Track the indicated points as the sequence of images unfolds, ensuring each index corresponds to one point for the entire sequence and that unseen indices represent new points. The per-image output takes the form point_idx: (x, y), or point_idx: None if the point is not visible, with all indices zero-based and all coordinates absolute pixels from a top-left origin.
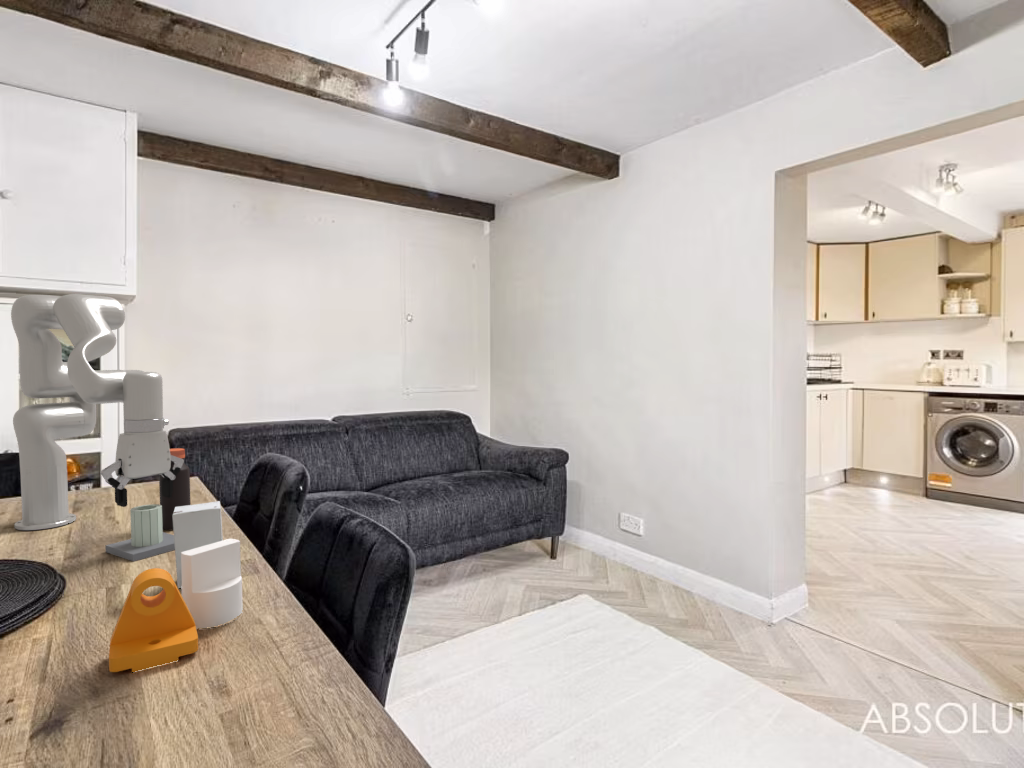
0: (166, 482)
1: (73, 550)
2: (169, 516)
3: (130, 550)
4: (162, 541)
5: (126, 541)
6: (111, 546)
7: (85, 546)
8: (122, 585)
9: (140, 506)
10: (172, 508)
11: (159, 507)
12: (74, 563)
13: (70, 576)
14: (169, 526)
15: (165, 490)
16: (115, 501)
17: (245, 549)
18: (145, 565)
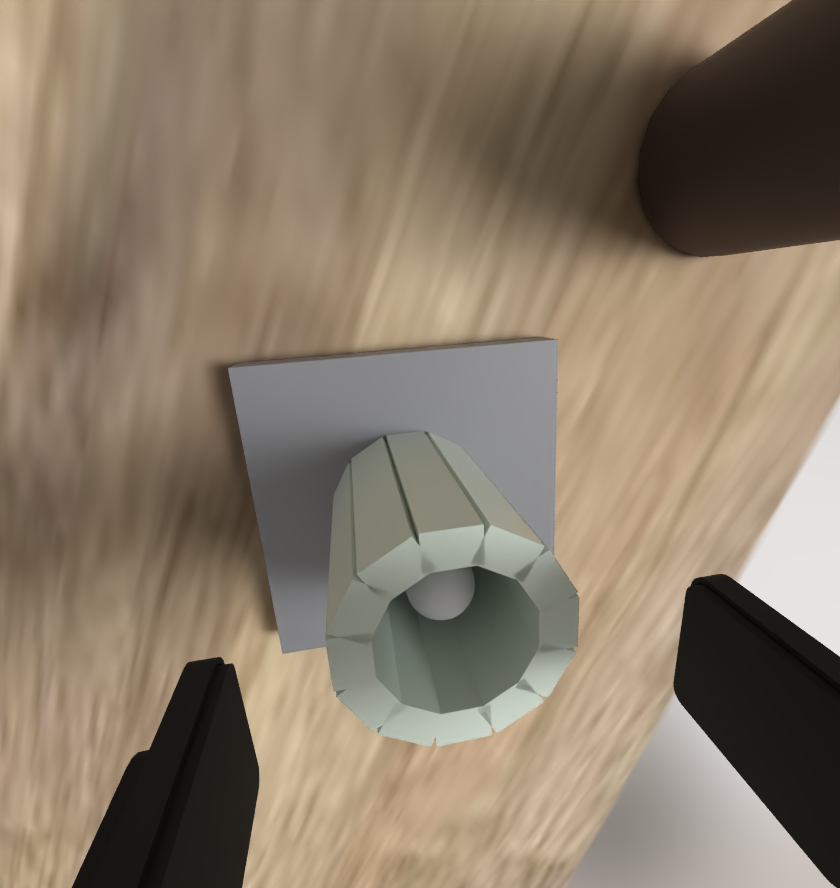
0: (834, 841)
1: (91, 133)
2: (715, 207)
3: (296, 580)
4: None
5: (344, 389)
6: (247, 424)
7: (175, 101)
8: None
9: (448, 558)
10: (782, 212)
11: (524, 710)
12: (55, 441)
13: (10, 634)
14: (662, 220)
15: (734, 702)
16: (138, 758)
17: (620, 774)
18: (303, 708)
